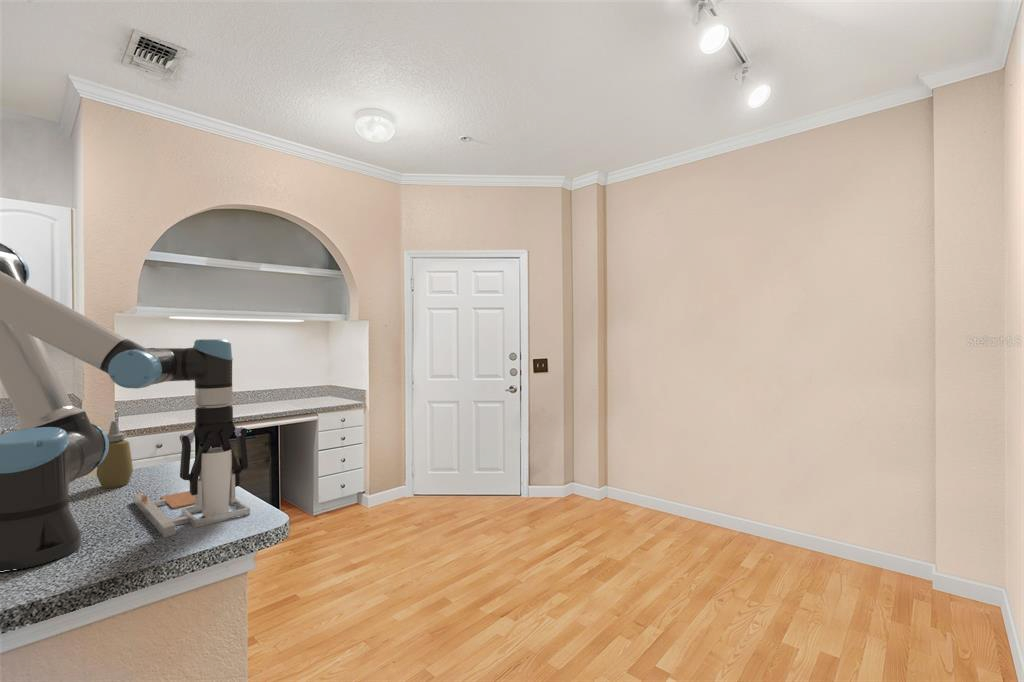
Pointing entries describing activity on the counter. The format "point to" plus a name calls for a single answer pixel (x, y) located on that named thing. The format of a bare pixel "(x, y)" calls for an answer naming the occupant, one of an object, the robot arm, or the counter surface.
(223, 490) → the drinking glass
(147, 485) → the counter surface
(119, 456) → the squeeze bottle
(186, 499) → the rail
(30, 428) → the robot arm
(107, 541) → the counter surface
